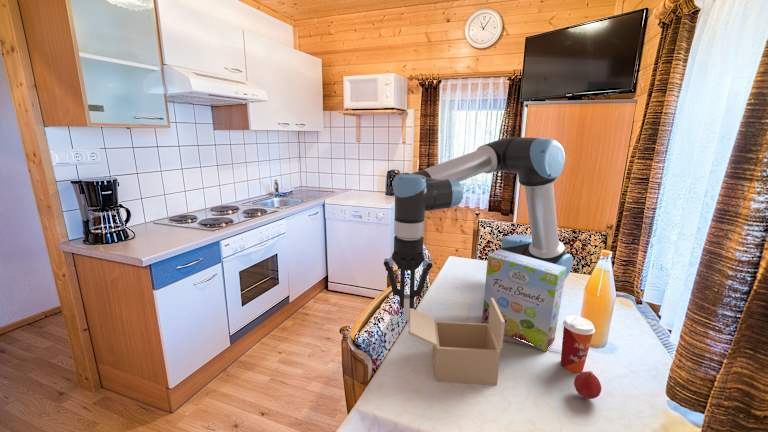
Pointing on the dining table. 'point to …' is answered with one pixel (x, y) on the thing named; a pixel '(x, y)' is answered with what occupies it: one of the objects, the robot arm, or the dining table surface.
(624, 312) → the dining table surface
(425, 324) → the flap
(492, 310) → the flap
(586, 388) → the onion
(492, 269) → the snack box
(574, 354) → the paper cup
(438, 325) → the carton
